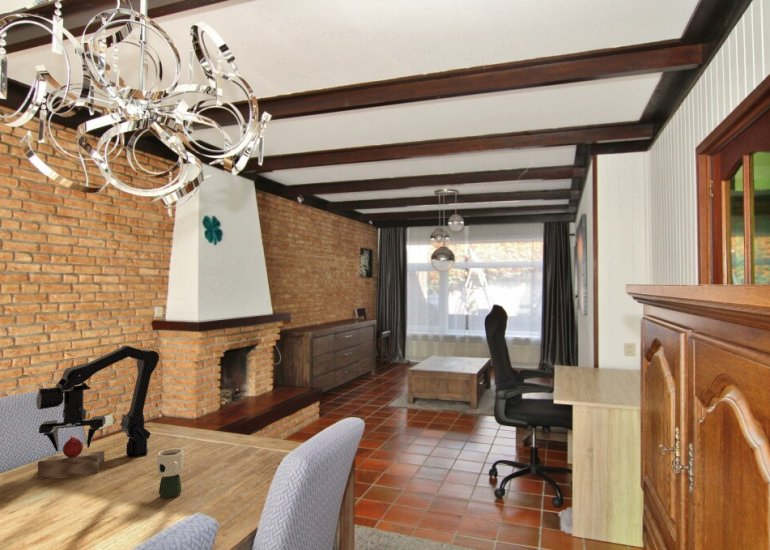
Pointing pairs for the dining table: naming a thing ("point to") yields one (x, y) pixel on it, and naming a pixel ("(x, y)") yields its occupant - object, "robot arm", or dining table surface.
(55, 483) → the dining table surface
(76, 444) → the onion
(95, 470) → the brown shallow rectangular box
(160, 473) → the character mug
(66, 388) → the robot arm
